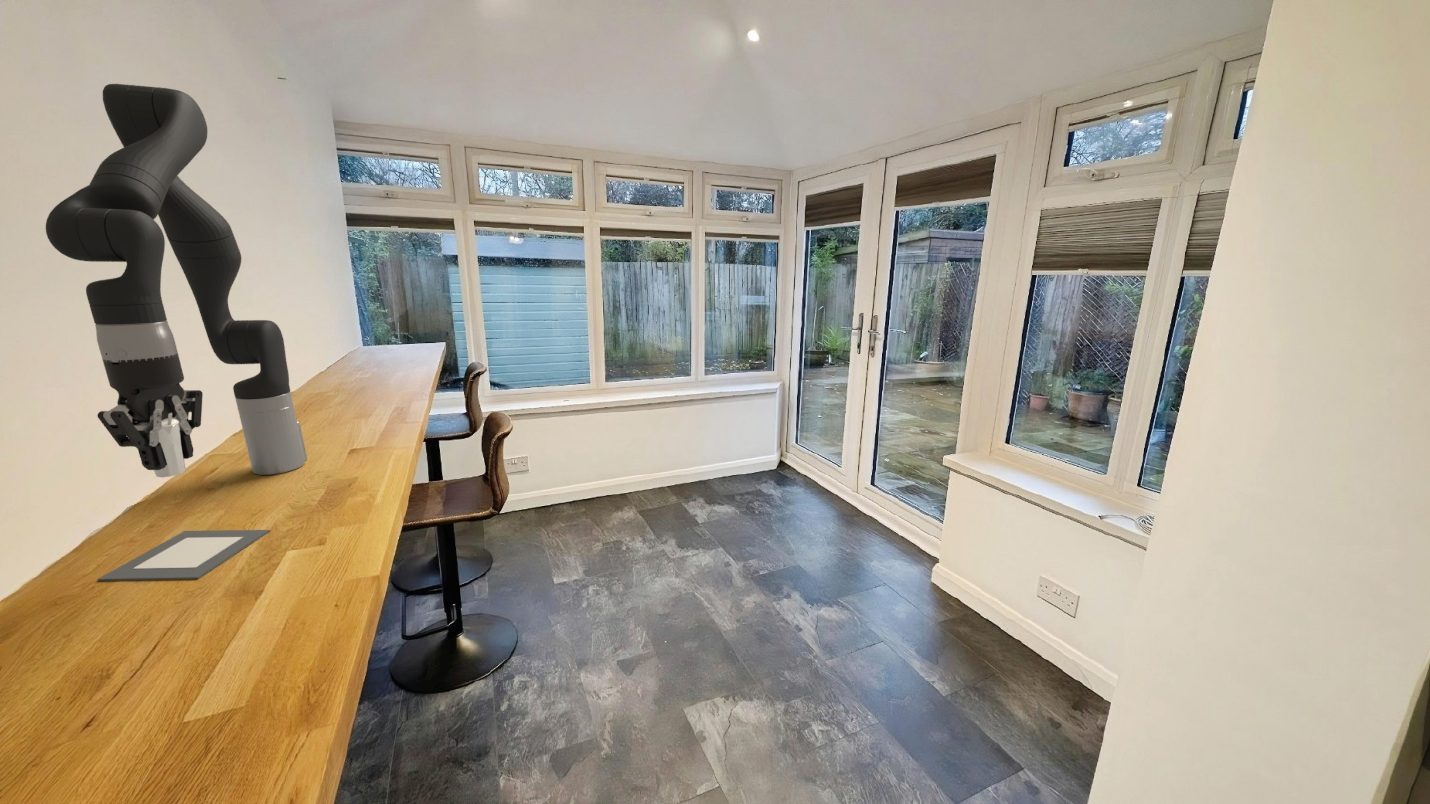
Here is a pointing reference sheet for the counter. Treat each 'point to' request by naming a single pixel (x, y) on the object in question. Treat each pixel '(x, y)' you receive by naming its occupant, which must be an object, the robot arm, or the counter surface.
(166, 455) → the milkshake
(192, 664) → the counter surface
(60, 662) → the counter surface
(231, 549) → the pad
